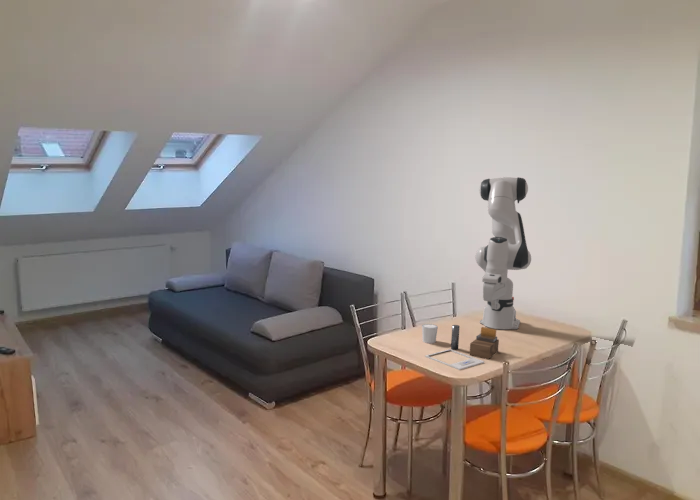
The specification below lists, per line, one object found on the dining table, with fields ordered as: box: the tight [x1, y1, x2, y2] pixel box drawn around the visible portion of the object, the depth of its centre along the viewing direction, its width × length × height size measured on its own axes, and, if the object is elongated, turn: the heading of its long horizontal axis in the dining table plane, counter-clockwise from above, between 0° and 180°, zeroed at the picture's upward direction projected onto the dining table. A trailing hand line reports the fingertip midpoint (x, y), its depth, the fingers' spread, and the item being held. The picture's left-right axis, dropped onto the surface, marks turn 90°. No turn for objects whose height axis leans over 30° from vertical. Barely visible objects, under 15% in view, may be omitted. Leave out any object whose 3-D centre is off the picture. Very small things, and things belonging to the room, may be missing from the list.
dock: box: [469, 339, 500, 360], centre depth 227 cm, size 12×8×5 cm, turn 148°
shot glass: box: [421, 323, 438, 344], centre depth 241 cm, size 7×7×7 cm
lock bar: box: [475, 326, 498, 343], centre depth 228 cm, size 5×7×4 cm
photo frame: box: [424, 348, 485, 371], centre depth 219 cm, size 15×1×18 cm
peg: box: [450, 324, 461, 351], centre depth 231 cm, size 3×3×10 cm
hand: (494, 308), depth 233 cm, fingers closed
